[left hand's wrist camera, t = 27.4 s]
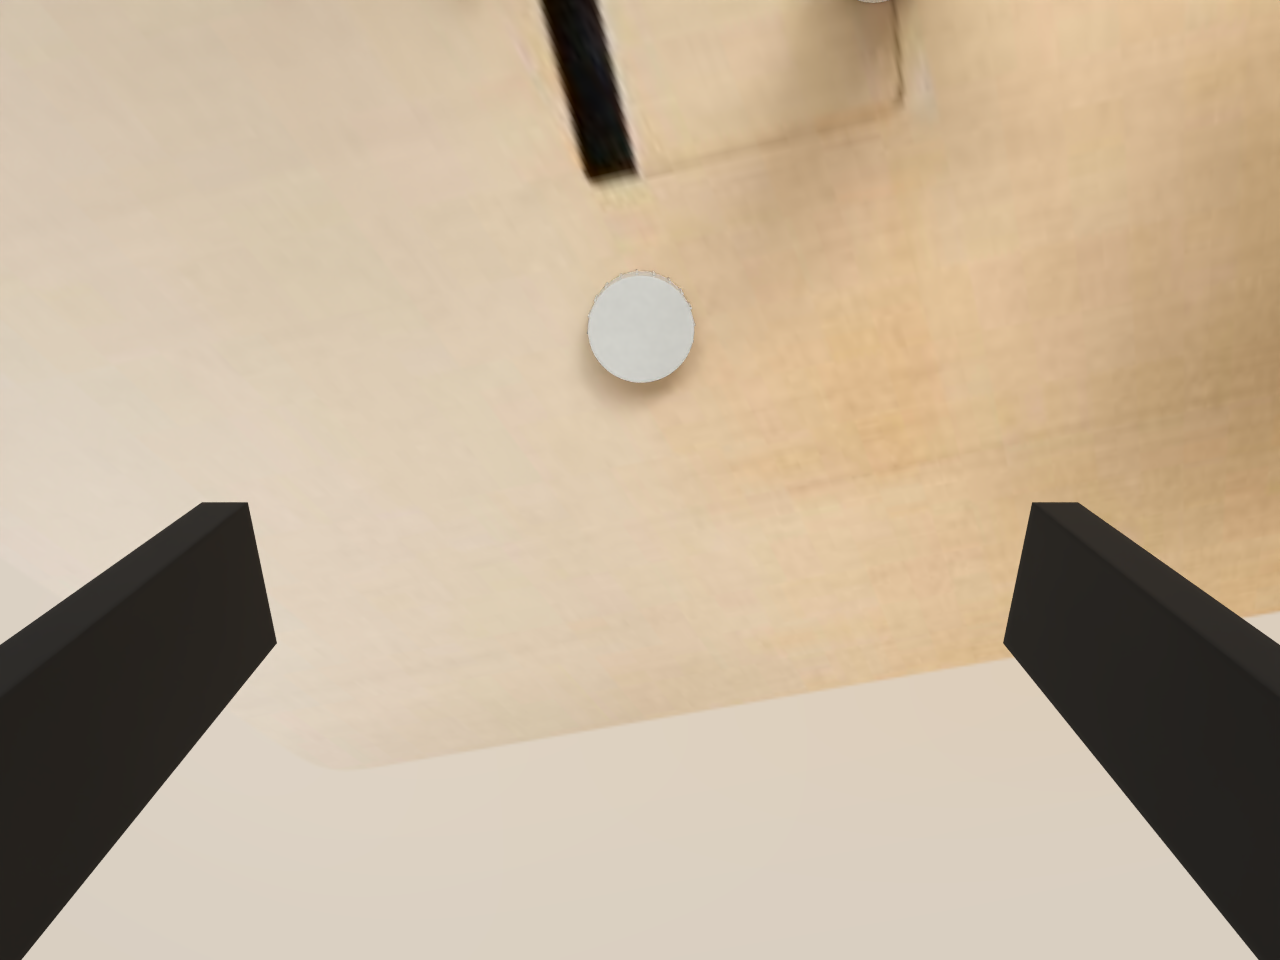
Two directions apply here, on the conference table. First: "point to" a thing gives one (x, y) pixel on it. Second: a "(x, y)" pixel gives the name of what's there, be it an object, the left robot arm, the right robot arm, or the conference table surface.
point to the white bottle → (873, 1)
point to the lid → (641, 327)
